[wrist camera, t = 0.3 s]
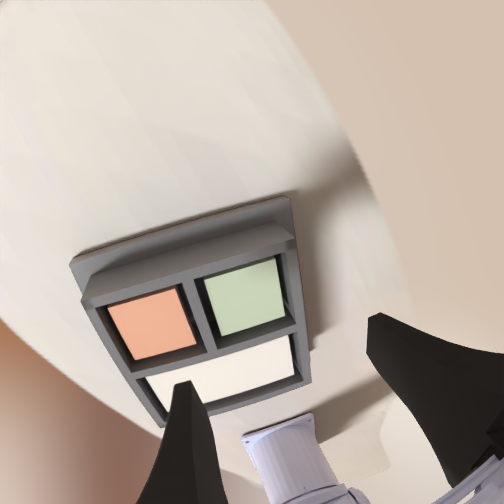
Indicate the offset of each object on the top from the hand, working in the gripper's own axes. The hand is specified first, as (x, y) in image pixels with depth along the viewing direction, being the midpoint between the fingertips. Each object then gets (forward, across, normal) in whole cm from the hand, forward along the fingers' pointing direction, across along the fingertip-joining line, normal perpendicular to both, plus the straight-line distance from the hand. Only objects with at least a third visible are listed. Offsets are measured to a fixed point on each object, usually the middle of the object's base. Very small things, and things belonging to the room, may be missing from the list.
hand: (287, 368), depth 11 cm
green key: (+8, 0, +1) cm, 8 cm away
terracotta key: (+8, +6, +1) cm, 10 cm away
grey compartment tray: (+10, +3, +4) cm, 11 cm away
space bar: (+8, +3, +7) cm, 11 cm away
